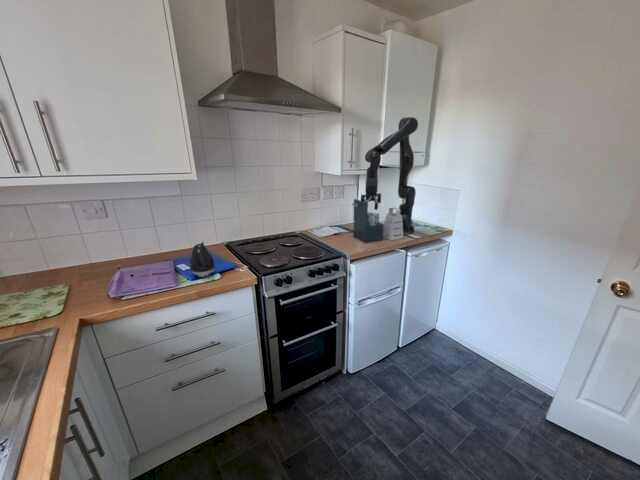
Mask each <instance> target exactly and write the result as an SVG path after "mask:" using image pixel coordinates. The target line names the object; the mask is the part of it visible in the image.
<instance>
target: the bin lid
mask: <svg viewBox="0 0 640 480" xmlns="http://www.w3.org/2000/svg"><path fill="white" fill-rule="evenodd" d="M352 206H353V222H354V221H355V222H358V223H360V224H362V225H365V226H367V212H368V209H369V207H368V206H369V202H368V203H366V202H363V201H361V199H360V200H359V199H357V198H354V199H353V202H352Z"/></svg>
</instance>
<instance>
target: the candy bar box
mask: <svg viewBox="0 0 640 480" xmlns="http://www.w3.org/2000/svg"><path fill="white" fill-rule="evenodd" d="M379 223H380V213H377V212H368V211H367V226H373V225H379Z"/></svg>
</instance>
